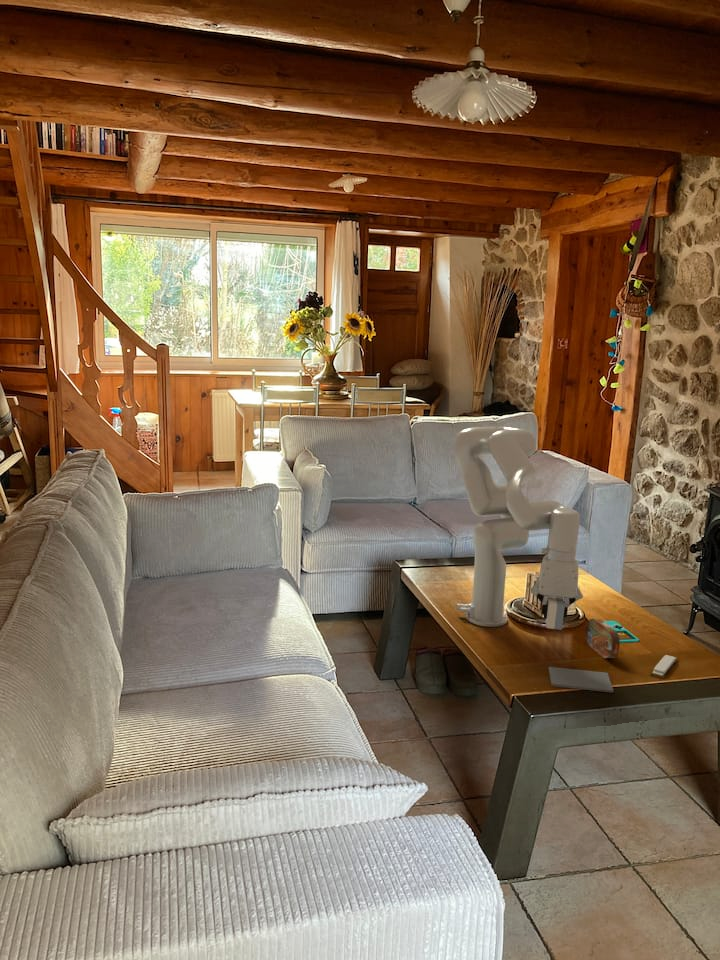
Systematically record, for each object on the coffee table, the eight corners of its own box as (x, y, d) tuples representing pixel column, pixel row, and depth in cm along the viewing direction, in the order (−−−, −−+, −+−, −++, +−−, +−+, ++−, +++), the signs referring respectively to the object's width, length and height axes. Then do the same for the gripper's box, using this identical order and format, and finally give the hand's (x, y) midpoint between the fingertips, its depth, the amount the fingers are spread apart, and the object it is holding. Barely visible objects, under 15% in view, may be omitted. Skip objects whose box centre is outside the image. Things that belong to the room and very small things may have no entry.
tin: (583, 641, 219) (586, 613, 218) (593, 640, 220) (596, 613, 218) (609, 663, 205) (612, 634, 203) (619, 663, 205) (623, 634, 204)
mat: (551, 685, 191) (551, 683, 191) (548, 668, 200) (548, 666, 200) (613, 692, 188) (613, 690, 188) (607, 674, 198) (607, 672, 198)
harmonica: (665, 658, 210) (666, 652, 210) (676, 662, 208) (677, 655, 208) (650, 677, 199) (651, 670, 198) (662, 680, 197) (663, 673, 196)
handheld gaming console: (615, 619, 235) (640, 639, 220) (614, 623, 235) (640, 643, 220) (590, 620, 233) (613, 640, 219) (589, 623, 233) (613, 644, 219)
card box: (546, 628, 203) (549, 603, 201) (544, 615, 211) (547, 591, 210) (561, 629, 202) (564, 605, 200) (559, 616, 211) (561, 593, 209)
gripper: (529, 555, 200) (522, 620, 204) (595, 562, 197) (586, 627, 201) (528, 547, 207) (521, 609, 211) (591, 553, 204) (583, 616, 209)
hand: (553, 617), depth 206 cm, fingers closed on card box, 3 cm apart
